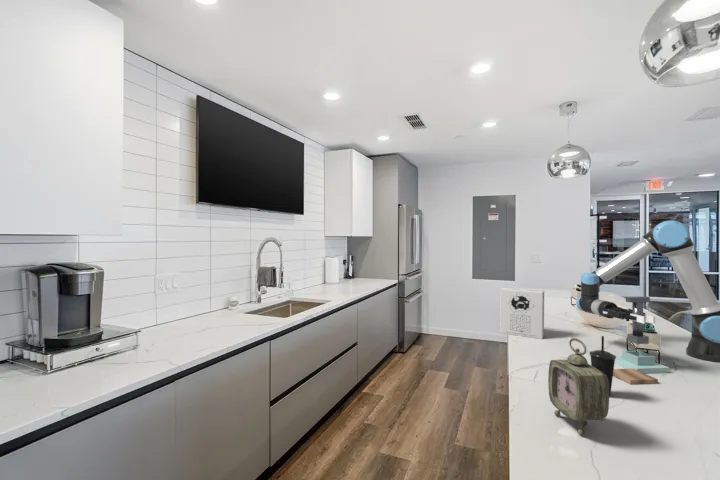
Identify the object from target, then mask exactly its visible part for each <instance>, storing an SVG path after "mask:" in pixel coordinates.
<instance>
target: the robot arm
mask: <svg viewBox="0 0 720 480" xmlns="http://www.w3.org/2000/svg"><path fill="white" fill-rule="evenodd" d="M690 235H691V234H690V230H689V229H688V227H687V226H686V225H685V224H684V223H682V222H680V221H678V220H666V221H665V220H664V221H662V222H660V223H657V224H656V225H655V226H653V228H652V229H650V230H649V231H648V232H646V233H645V234H644V235H643V236H641V238H640V240H639V241H637V242H636V243H635V244H633V245H631V246H630V247H628V248H627V249H625V250H624V251H622V252H620V253H619V254H618V255H616V256H615V257H613V258H612V259H610V260H609V261H607V262H605V263H603V265H601V266H600V267H598V268H596V269H595V270H594V271H592V272H590V273H589V272H588V273H587V272H585V273H581V275H580V296H579V297H577V300H576V301H575V304H576V307H577V308H578V309H579V310H580V311H582V312H584V313H589V314H592V315H595V316H596V315H597V316H598V317H599V318H601V317H603V318H606V319H614V318H615V319H620V320H625V321H626V322H630V321H636V322H640V323H643V325H645V324H646V323H651V324H656V316H653V315H649V314H646V313H645V312H643V316H640V315H636V314H632V308H622V307H619V306H618V305H617V303H614V302H612V301H607V300H605V299H604V300H603V299H600V287H601V286H602V285H604V284H605V283H607V282H608V281H610V280H612V279H613V278H615V277H616V276H618V275H620V274H621V273H623V272H624V271H626V270H628V269H629V268H631V267H632V266H634V265H636V264H637V263H639V262H640V261H642V260H644V259H645V258H647V257H648V256H650V255H652V254H653V253H659V252H660V253H661V255H662V256H665V257H667V258H668V261H669V263H670V265H671V267H672V268H673V272H674V273H675V275H676V277H677V279H678V282H679V283H680V284H681V286H682V289H683V291H684V293H685V295H686V297H687V299H688V301H689V302H690V303H689V304H690V305H691V307H692V308H691V311H690V315H691V335H690V336H691V337H690V340H689V342H688V344H687V347H686V348H685V350H686V351H685V353H686V355H687V356H689V357H692V358H696V359H699V360H703V361H709V362H714V363H715V362H717V363H720V303H719V301H718V299H717V297H716V295H715V292H713V289H712V287H711V285H710V283H709V282H708V280H707V278H706V276H705V274H704V271H703V269H702V268H701V266H700V263H699V262H698V260H697V257H696V256H695V254H694V252H693V249H694V247H695V244H694V242H693V240H692V238H691V236H690Z"/></svg>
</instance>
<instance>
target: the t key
mask: <svg viewBox="0 0 720 480" xmlns="http://www.w3.org/2000/svg"><path fill="white" fill-rule="evenodd" d="M625 302H626V303H632V305H631V309H632V314H636V315H640V316H643V313H644V303H650V302H651V297H650V296H646V295H645V296H625ZM631 321H632V320H631ZM626 335H627V341H628V342H629V343H633V344H636V345H649V343H650V340H649V335H645V334H644V324H643V323H640V322H636V321H632V333H627V334H626Z"/></svg>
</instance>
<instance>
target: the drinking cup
mask: <svg viewBox="0 0 720 480" xmlns="http://www.w3.org/2000/svg"><path fill="white" fill-rule="evenodd" d="M604 346H605V337H604V336H603V335H601V347H600V348H601V349H600V350H599V349H598V350H592V351H590V352H589V355H590V365H591V366H593V367H595V368H596V369H598V370H600V371H602V372H603V373H604V374H605V375H606V376H607V378H608V382H609V397H610V396H611V395H612V394H611V392H612V386H613V378H614V376H613V371H614V369H615V364H614V363H615V359H616V357H617V356H616V355H615V354H613V353H611V352H609V351H606V350H605V347H604Z"/></svg>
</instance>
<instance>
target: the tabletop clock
mask: <svg viewBox="0 0 720 480" xmlns="http://www.w3.org/2000/svg"><path fill="white" fill-rule="evenodd" d="M573 341H575V342H578V343H579V344H581V345H582V347H583V349H584V352H581V351H580V348H577V347H576V348H574V347H573V346H572V342H573ZM568 344H569V347H570V349H571V351H572V352H573V354H570V355H569V356H568V357H567V358H566V359H551V360H550V362H549V365H548V366H549V367H548V377H547V378H548V381H547V382H548V396H549V400H550V402H551V404H552V405H553V406H554V408H556V410H554V411H553V413H554V415H555V417H560V416H561V414H562V415H564V416H566V417H567V418H568V419H570V420H571V421H574V422H580V428H579V429H578V430H577V433H578V435H579V436H582V437H583V436H585V434H586V433H585V430H584V426H587V425H588V422H589V421H603V420H605V419H606V417H607V416H608V414H609V408H610V407H609V406H610V396H609V382H608V378H607V376H606V375H605V374H604V373H603V372H602V371H600V370H598V369H596V368H595V367H593V366H591V364H589V363H588V359H587V358H586V357H585V356H584V355H585V354H587V346H586V345H585V343H584V342H583V341H582V340H581V339H579V338H575V337H573V338H570V339H569V342H568Z"/></svg>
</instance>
